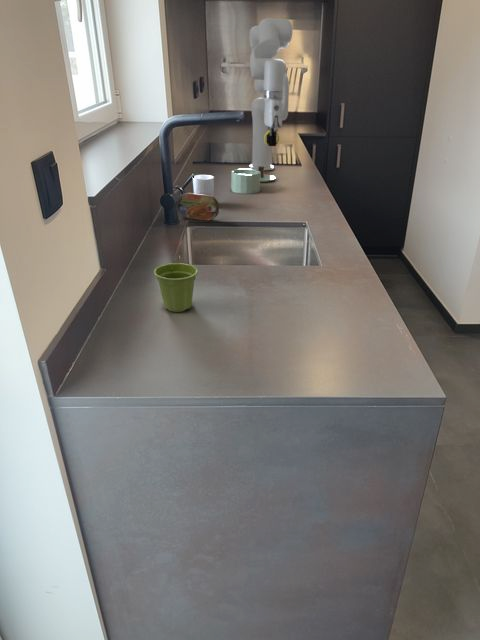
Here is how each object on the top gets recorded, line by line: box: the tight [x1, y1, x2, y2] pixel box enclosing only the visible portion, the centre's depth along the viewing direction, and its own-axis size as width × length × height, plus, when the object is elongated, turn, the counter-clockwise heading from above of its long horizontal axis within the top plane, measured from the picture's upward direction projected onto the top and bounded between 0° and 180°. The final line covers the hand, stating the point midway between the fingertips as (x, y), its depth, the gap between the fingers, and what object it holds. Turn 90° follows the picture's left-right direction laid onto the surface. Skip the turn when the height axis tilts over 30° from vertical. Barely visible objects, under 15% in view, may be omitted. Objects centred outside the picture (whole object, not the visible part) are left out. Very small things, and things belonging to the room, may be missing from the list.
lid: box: [258, 166, 276, 183], centre depth 225 cm, size 13×13×6 cm
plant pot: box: [153, 262, 199, 313], centre depth 110 cm, size 9×9×9 cm
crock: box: [230, 168, 261, 195], centre depth 206 cm, size 12×12×8 cm
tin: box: [176, 192, 220, 222], centre depth 169 cm, size 15×3×8 cm, turn 70°
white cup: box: [192, 174, 215, 197], centre depth 185 cm, size 8×8×10 cm
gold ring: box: [264, 130, 280, 146], centre depth 204 cm, size 6×3×6 cm, turn 102°
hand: (271, 145), depth 205 cm, fingers closed on gold ring
